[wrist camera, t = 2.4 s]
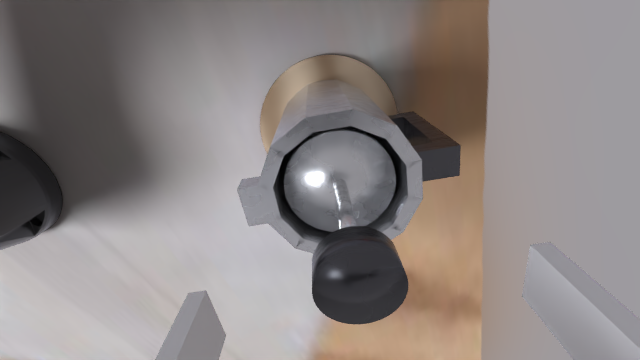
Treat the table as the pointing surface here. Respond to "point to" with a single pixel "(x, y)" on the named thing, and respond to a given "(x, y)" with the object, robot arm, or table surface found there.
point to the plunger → (348, 223)
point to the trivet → (318, 71)
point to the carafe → (363, 115)
